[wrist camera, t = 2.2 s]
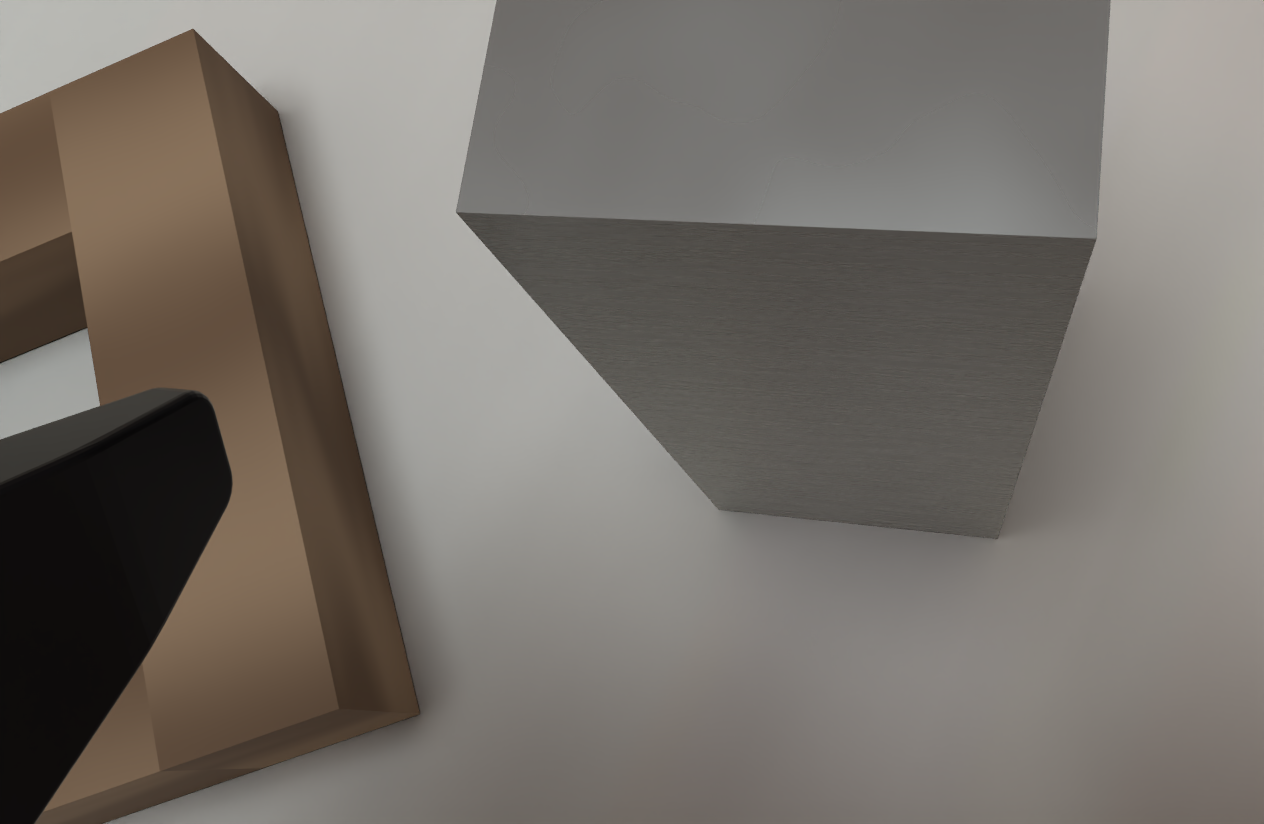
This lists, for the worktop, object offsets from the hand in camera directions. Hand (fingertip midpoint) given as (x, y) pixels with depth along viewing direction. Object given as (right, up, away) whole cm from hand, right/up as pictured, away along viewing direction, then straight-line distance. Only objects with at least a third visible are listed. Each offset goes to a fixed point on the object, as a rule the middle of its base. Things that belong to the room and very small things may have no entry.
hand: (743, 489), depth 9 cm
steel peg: (+3, +1, +11) cm, 12 cm away
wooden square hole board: (-12, -1, +14) cm, 19 cm away
